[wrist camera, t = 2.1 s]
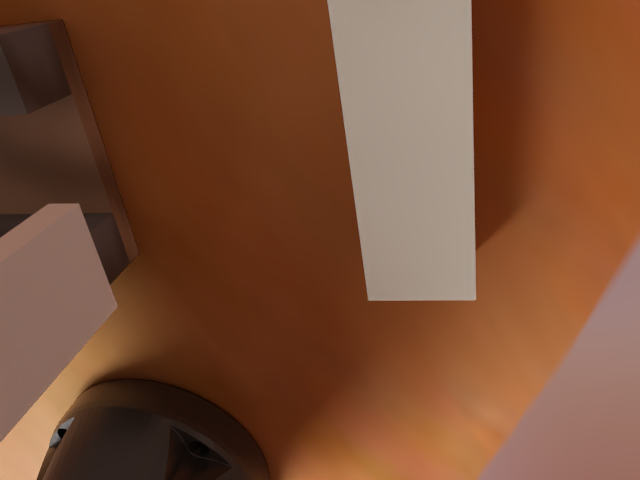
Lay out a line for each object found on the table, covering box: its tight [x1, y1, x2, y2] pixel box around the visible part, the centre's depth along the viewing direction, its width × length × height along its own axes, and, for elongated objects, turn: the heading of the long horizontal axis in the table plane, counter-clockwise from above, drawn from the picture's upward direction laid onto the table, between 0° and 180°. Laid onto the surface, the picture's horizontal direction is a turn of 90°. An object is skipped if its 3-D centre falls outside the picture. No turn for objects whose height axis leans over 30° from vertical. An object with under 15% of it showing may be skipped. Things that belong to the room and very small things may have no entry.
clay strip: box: [327, 0, 476, 301], centre depth 20 cm, size 16×4×4 cm, turn 9°
